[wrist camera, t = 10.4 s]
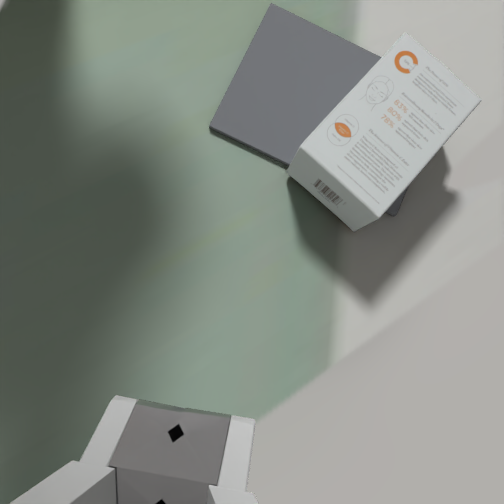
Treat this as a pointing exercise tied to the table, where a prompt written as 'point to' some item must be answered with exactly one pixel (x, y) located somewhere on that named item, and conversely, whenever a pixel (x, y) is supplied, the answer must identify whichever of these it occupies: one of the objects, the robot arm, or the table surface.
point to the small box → (382, 133)
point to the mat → (290, 86)
